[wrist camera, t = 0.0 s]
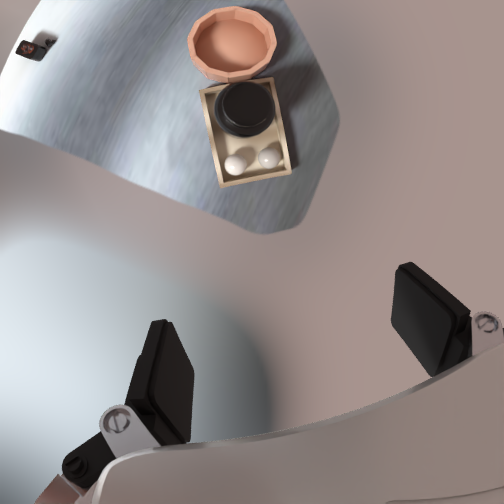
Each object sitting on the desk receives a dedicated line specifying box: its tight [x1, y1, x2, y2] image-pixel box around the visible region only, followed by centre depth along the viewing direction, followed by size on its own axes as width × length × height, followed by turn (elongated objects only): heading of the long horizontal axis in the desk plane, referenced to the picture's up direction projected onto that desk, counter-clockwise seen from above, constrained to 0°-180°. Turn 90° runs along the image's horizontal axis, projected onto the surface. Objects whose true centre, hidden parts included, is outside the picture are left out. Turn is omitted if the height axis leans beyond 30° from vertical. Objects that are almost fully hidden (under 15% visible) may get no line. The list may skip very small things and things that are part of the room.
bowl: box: [187, 6, 277, 84], centre depth 29 cm, size 11×11×4 cm
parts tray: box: [199, 77, 292, 188], centre depth 35 cm, size 14×10×2 cm
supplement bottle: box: [214, 81, 275, 139], centre depth 29 cm, size 7×7×12 cm
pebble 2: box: [258, 147, 280, 169], centre depth 36 cm, size 3×3×3 cm
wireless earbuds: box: [16, 39, 55, 61], centre depth 23 cm, size 4×7×3 cm, turn 56°
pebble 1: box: [225, 154, 247, 175], centre depth 36 cm, size 3×3×3 cm
